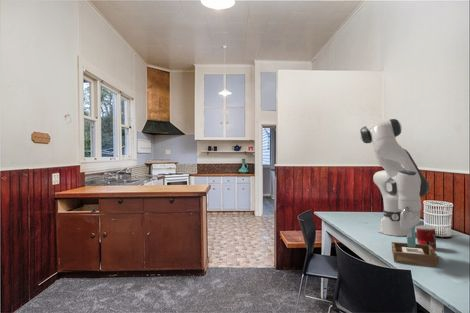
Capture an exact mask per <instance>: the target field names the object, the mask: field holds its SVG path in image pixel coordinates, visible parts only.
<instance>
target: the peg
mask: <svg viewBox="0 0 470 313" xmlns="http://www.w3.org/2000/svg"><path fill="white" fill-rule="evenodd" d="M415 226H416V225H415ZM415 226H414V227H413V228H412V234H413V236H412V237H408V236H406V243H407V246H409V247H416V244H417V242H416V241H417V240H416V227H415Z"/></svg>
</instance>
